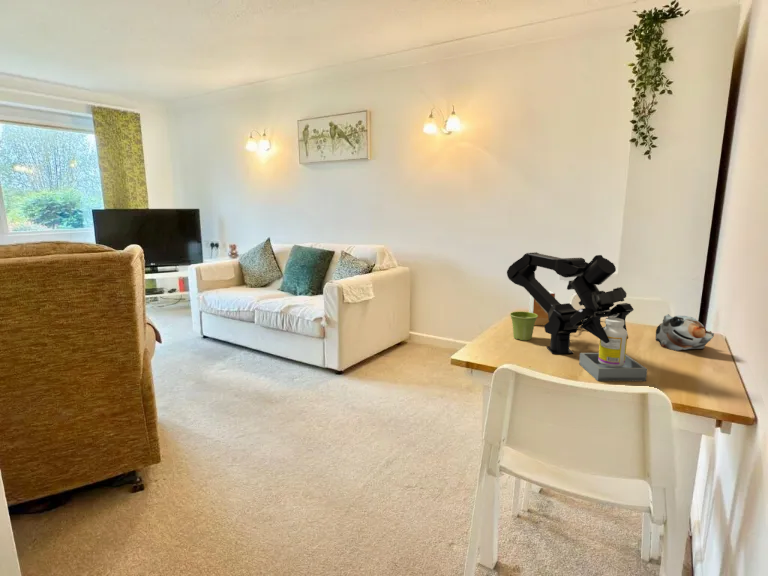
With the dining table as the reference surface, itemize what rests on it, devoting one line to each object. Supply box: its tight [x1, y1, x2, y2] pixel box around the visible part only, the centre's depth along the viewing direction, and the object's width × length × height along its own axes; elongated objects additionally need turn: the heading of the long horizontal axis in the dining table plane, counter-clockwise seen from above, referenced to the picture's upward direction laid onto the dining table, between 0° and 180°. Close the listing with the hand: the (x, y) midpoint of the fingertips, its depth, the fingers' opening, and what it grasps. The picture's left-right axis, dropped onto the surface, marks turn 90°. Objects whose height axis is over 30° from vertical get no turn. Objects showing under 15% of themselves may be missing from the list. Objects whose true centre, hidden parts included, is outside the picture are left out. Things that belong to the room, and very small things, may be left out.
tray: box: [578, 352, 648, 382], centre depth 122 cm, size 13×13×4 cm
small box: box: [528, 289, 556, 326], centre depth 171 cm, size 8×6×13 cm
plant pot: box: [509, 310, 538, 341], centre depth 154 cm, size 9×9×9 cm
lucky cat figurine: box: [655, 314, 715, 352], centre depth 140 cm, size 15×12×14 cm
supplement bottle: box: [598, 317, 628, 367], centre depth 121 cm, size 7×7×13 cm
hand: (617, 340), depth 119 cm, fingers closed on supplement bottle, 7 cm apart
